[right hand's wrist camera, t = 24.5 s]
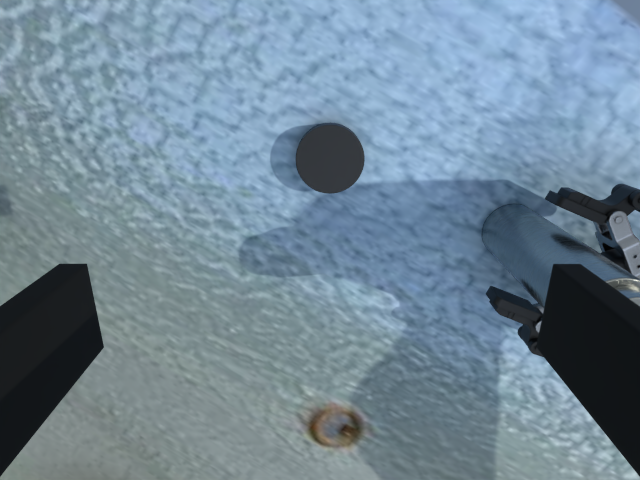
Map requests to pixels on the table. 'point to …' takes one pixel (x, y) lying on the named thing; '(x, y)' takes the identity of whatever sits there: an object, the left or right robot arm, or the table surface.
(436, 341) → the table surface
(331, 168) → the lid
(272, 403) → the table surface
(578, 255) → the cylinder
